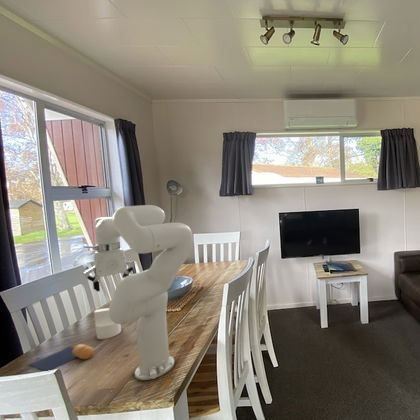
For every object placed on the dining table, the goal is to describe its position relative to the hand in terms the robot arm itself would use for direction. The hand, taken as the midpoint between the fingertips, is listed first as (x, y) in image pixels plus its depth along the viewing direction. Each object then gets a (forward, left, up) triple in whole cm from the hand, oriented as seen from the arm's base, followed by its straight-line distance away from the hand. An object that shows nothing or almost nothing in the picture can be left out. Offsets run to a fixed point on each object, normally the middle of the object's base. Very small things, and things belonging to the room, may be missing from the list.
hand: (112, 286), depth 113 cm
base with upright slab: (+17, +3, -27) cm, 33 cm away
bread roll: (+2, +11, -27) cm, 29 cm away
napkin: (+6, +19, -27) cm, 34 cm away
